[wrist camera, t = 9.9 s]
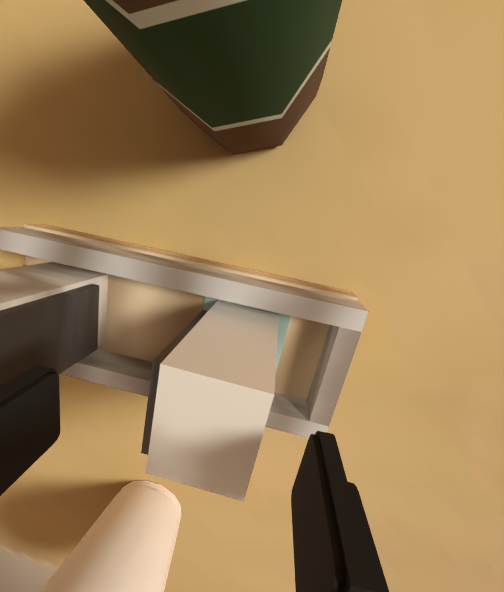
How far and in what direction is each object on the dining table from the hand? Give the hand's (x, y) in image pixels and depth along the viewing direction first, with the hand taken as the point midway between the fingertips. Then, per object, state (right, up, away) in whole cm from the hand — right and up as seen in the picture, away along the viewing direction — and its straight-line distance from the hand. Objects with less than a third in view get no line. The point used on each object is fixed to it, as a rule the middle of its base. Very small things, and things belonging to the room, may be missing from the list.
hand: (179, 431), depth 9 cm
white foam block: (+2, +2, +8) cm, 8 cm away
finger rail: (-2, +3, +10) cm, 10 cm away
